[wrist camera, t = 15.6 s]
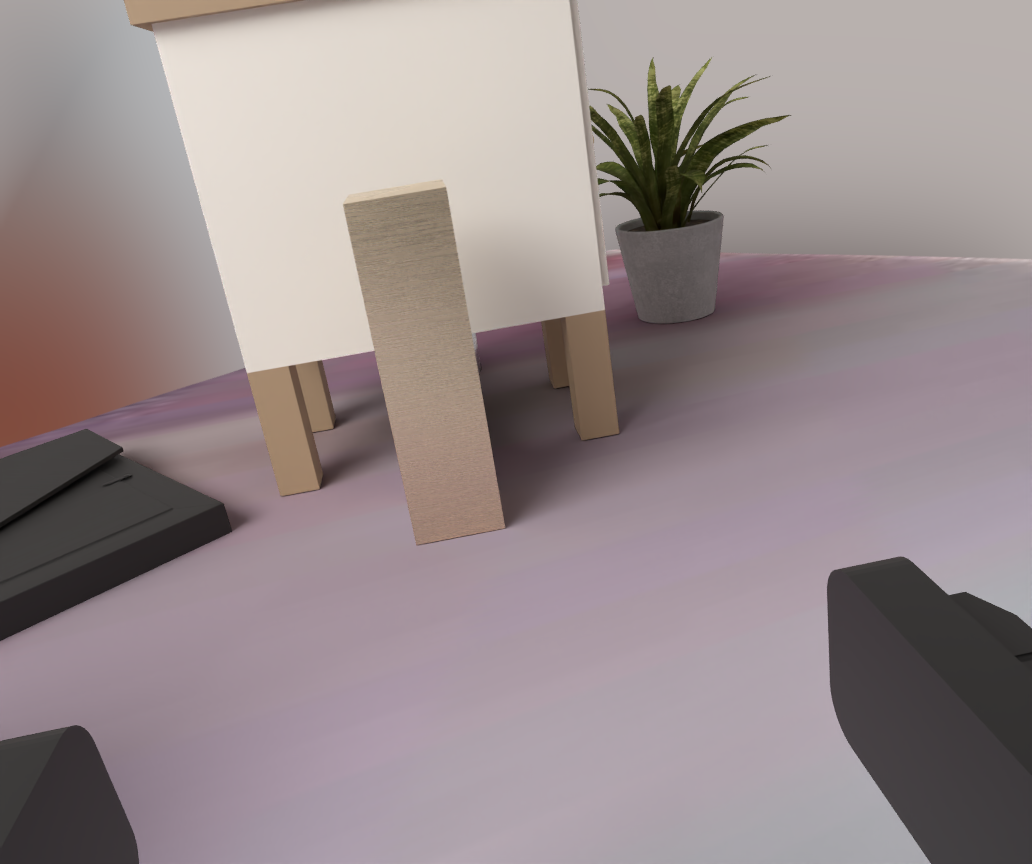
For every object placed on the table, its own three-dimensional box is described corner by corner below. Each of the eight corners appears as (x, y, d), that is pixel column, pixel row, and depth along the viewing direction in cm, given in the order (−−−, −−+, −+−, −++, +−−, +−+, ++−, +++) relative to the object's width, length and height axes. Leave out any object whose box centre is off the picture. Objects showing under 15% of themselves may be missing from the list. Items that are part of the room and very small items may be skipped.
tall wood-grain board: (469, 381, 52) (429, 156, 48) (505, 528, 34) (446, 186, 29) (411, 391, 52) (366, 167, 48) (416, 545, 34) (342, 204, 29)
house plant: (650, 365, 50) (620, 58, 44) (524, 330, 62) (487, 83, 56) (823, 304, 56) (817, 28, 50) (680, 283, 68) (661, 56, 62)
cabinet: (598, 367, 51) (549, -32, 44) (647, 433, 41) (595, -77, 33) (294, 421, 50) (191, 22, 43) (265, 504, 40) (122, -5, 32)
